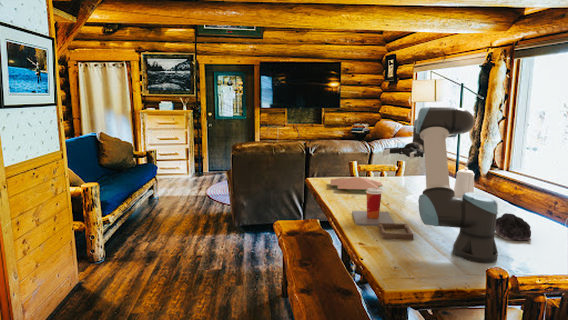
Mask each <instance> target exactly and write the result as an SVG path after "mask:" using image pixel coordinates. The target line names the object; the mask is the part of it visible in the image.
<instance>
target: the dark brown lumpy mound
mask: <svg viewBox="0 0 568 320" xmlns="http://www.w3.org/2000/svg"><path fill="white" fill-rule="evenodd" d="M495 234H496V235H497V236H499V237H501V238H503V239H504V240H508V241H530V238H532V237H531V236H532V231H531V226H530V224H529V223H528V222H527V221H525V220H524V219H523V218H522V217H520V216H516V215H515V214H514V213H503V214H502V215H501V216H499V217H497V219H496V227H495Z"/></svg>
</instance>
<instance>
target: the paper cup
mask: <svg viewBox="0 0 568 320" xmlns="http://www.w3.org/2000/svg"><path fill="white" fill-rule="evenodd" d="M365 194H366V211H367V217H368V218H370V219H378V218H379V211H380V210H381V201H382V194H383V192H382V189H381V188H380V189H378V188H368V189H367V190H365ZM380 212H381V211H380Z"/></svg>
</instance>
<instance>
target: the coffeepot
mask: <svg viewBox="0 0 568 320" xmlns="http://www.w3.org/2000/svg"><path fill="white" fill-rule="evenodd" d="M475 174H476V173H474V171H473V170H472V169H471V170H470V169H469V167H467V166H466V167H463V169H459V170H458V171H457V172H456V178H455V182H454V187H453V190H454V193H455V197H463V194H464V193H475Z"/></svg>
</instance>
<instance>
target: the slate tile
mask: <svg viewBox="0 0 568 320" xmlns="http://www.w3.org/2000/svg"><path fill="white" fill-rule="evenodd" d="M352 216H353V220H354V223H355V225H356V226H367V227H368V226H370V227H371V226H372V227H374V226H375V227H378V225H379V223H395V221H394V220H393V218H392V216H391V214H390V213H389V211H379V218H378V219H370V218H368V217H367V210H352Z"/></svg>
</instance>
